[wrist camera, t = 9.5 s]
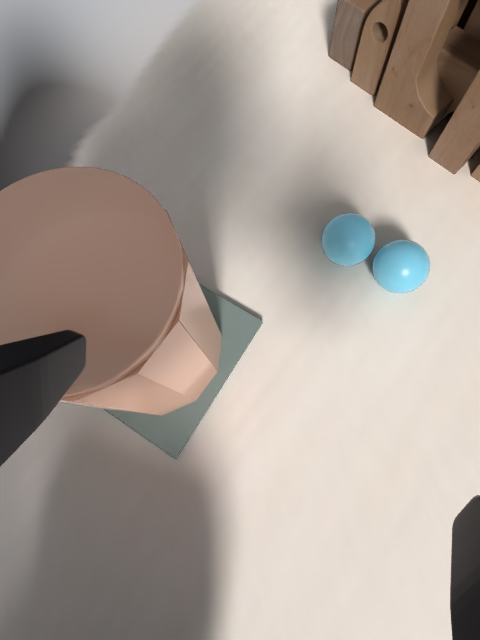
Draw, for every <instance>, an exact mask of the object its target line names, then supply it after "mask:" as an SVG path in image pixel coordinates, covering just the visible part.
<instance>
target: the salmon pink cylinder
mask: <svg viewBox="0 0 480 640" xmlns="http://www.w3.org/2000/svg"><path fill="white" fill-rule="evenodd" d="M63 330H73V331H75V332H78V333H80V334H83V335H84V336H85V337H86V364H85V367H84V369H83V371H82V373H81V374H80V375H79V377H78V378H77V379H76V380H75V382H74V383H73V384H72V386H71V387H70V388H69V389H68V391H67V392H66V393H65V395H64V396H63V397H62V398H61V400H60V401H59V402H64V403H71V404H78V405H84V406H91V407H98V408H105V409H111V410H118V411H125V412H133V413H142V414H151V415H160V416H163V415H165V414H168V413H170V412H172V411H174V410H177V409H179V408H181V407H183V406H185V405H188V404H190V403H192V402H194V401H196V400H197V399H198V398H199V396H200V395H201V393H202V392H203V391H204V389H205V388H206V387H207V385H208V384H209V383H210V381H211V380H212V379H213V377H214V376H215V375H216V373H217V372H218V367H219V359H220V351H221V343H222V335H221V333H220V331H219V328H218V326H217V324H216V322H215V319H214V317H213V315H212V312H211V310H210V308H209V306H208V303H207V301H206V299H205V297H204V294H203V292H202V290H201V288H200V285H199V283H198V281H197V279H196V276H195V274H194V272H193V269H192V267H191V265H190V263H189V260H188V258H187V256H186V254H185V251H184V249H183V247H182V245H181V242H180V240H179V238H178V236H177V233H176V231H175V229H174V226H173V224H172V222H171V220H170V217H169V215H168V213H167V211H166V210H165V209H163V207H162V206H161V205H160V203H159V202H158V201H157V200H156V199H155V198H154V197H153V196H152V195H151V194H150V193H149V192H148V191H147V190H146V189H144V188H143V187H142V186H140V185H139V184H138V183H136V182H134V181H132V180H131V179H129V178H127V177H125V176H122V175H120V174H117V173H115V172H112V171H107V170H103V169H99V168H91V167H65V168H56V169H52V170H47V171H43V172H40V173H37V174H34V175H31V176H29V177H26V178H24V179H22V180H19V181H17V182H15V183H13V184H12V185H10V186H8V187H6V188H5V189H3V190H2V191H0V345H2V344H6V343H11V342H15V341H20V340H24V339H28V338H33V337H37V336H41V335H46V334H50V333H55V332H59V331H63Z"/></svg>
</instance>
